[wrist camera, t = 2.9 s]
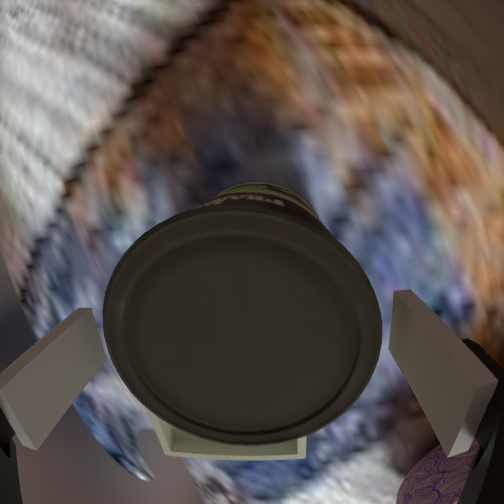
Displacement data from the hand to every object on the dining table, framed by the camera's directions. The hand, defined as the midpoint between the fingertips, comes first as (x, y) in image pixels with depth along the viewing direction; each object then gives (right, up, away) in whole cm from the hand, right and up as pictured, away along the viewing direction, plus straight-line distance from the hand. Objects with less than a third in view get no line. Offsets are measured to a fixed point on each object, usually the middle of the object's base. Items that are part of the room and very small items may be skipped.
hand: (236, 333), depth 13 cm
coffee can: (+1, +3, +12) cm, 12 cm away
